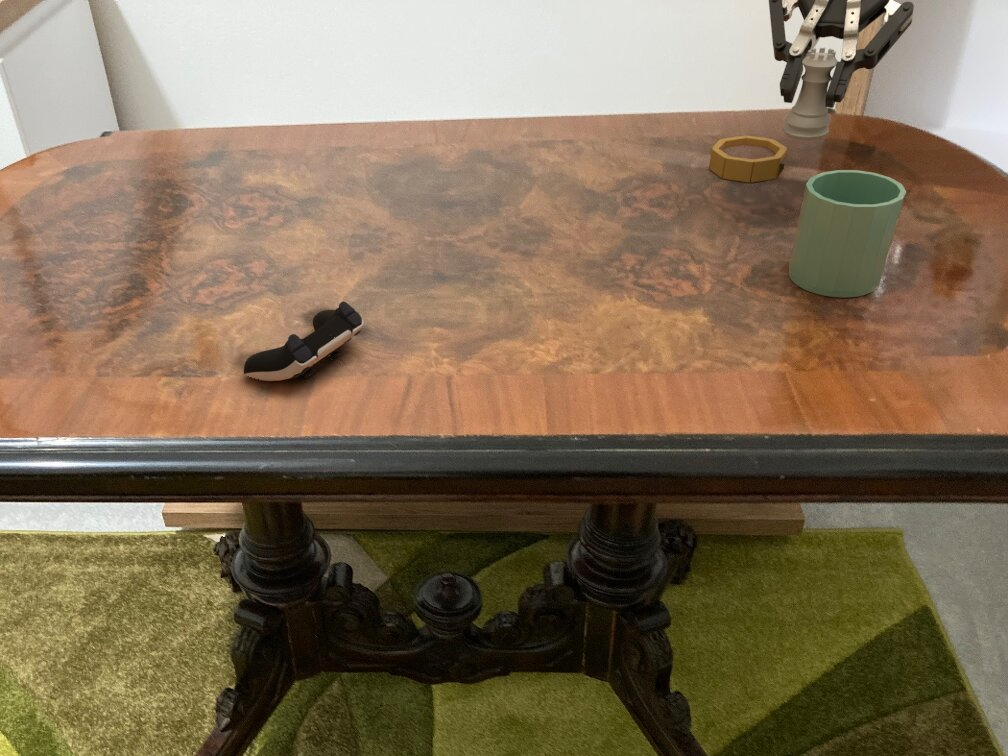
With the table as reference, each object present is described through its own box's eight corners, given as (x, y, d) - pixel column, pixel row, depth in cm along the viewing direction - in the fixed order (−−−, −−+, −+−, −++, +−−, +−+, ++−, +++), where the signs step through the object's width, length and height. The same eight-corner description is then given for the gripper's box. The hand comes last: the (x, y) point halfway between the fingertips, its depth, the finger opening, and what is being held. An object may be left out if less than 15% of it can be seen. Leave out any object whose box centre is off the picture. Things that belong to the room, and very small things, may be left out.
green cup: (887, 267, 89) (913, 177, 84) (870, 305, 84) (896, 212, 79) (800, 251, 93) (818, 164, 87) (778, 286, 88) (796, 197, 82)
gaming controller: (266, 408, 81) (299, 380, 76) (235, 368, 81) (266, 336, 75) (345, 352, 88) (382, 322, 82) (317, 314, 87) (352, 281, 82)
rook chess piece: (796, 144, 92) (813, 61, 86) (773, 129, 95) (788, 48, 90) (837, 138, 92) (856, 54, 87) (813, 123, 95) (830, 42, 90)
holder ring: (789, 161, 111) (793, 141, 109) (771, 186, 106) (774, 165, 104) (722, 152, 114) (725, 132, 113) (702, 175, 109) (705, 155, 108)
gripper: (940, -37, 90) (883, 128, 90) (791, -44, 96) (738, 111, 96) (948, -89, 83) (887, 90, 83) (788, -93, 90) (731, 74, 90)
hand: (807, 100), depth 90 cm, fingers closed on rook chess piece, 3 cm apart
